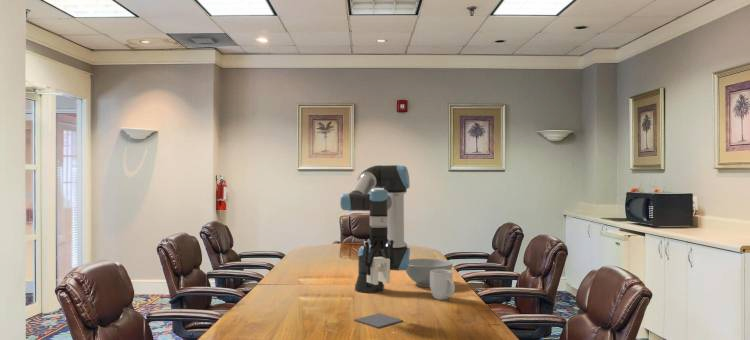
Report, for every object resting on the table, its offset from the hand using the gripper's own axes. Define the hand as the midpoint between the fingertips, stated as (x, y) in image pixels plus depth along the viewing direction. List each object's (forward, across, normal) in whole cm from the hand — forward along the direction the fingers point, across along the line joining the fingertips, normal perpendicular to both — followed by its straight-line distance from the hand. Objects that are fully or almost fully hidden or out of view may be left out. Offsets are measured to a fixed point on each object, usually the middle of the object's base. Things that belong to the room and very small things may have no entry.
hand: (378, 281), depth 212 cm
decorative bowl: (+14, +58, +44) cm, 74 cm away
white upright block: (0, 0, 0) cm, 0 cm away
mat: (+15, -1, -3) cm, 16 cm away
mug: (+15, +45, +14) cm, 49 cm away
